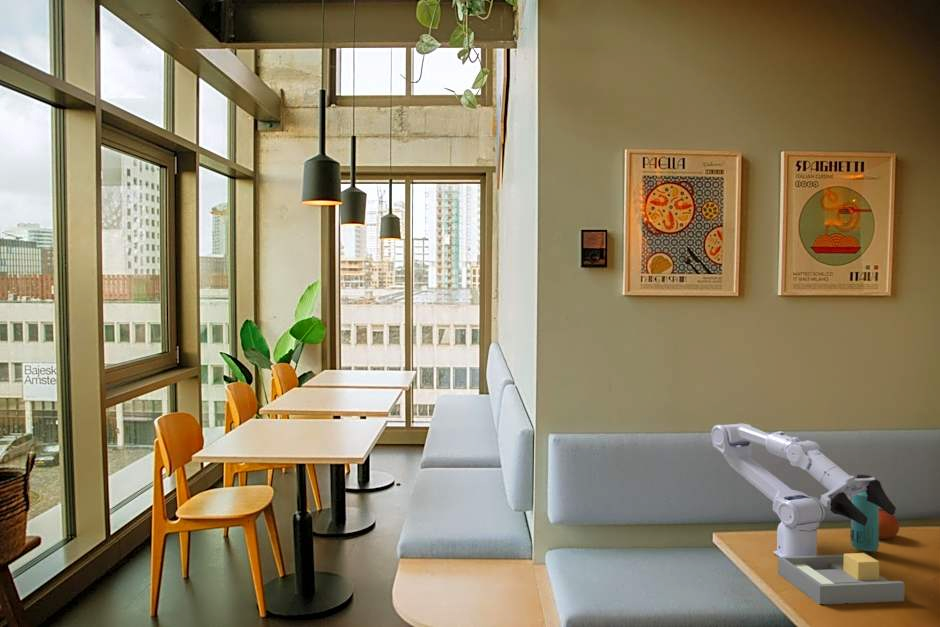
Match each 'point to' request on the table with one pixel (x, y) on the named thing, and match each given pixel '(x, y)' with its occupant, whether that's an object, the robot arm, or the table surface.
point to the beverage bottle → (868, 533)
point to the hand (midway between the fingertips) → (879, 516)
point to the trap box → (836, 581)
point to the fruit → (887, 525)
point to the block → (861, 566)
